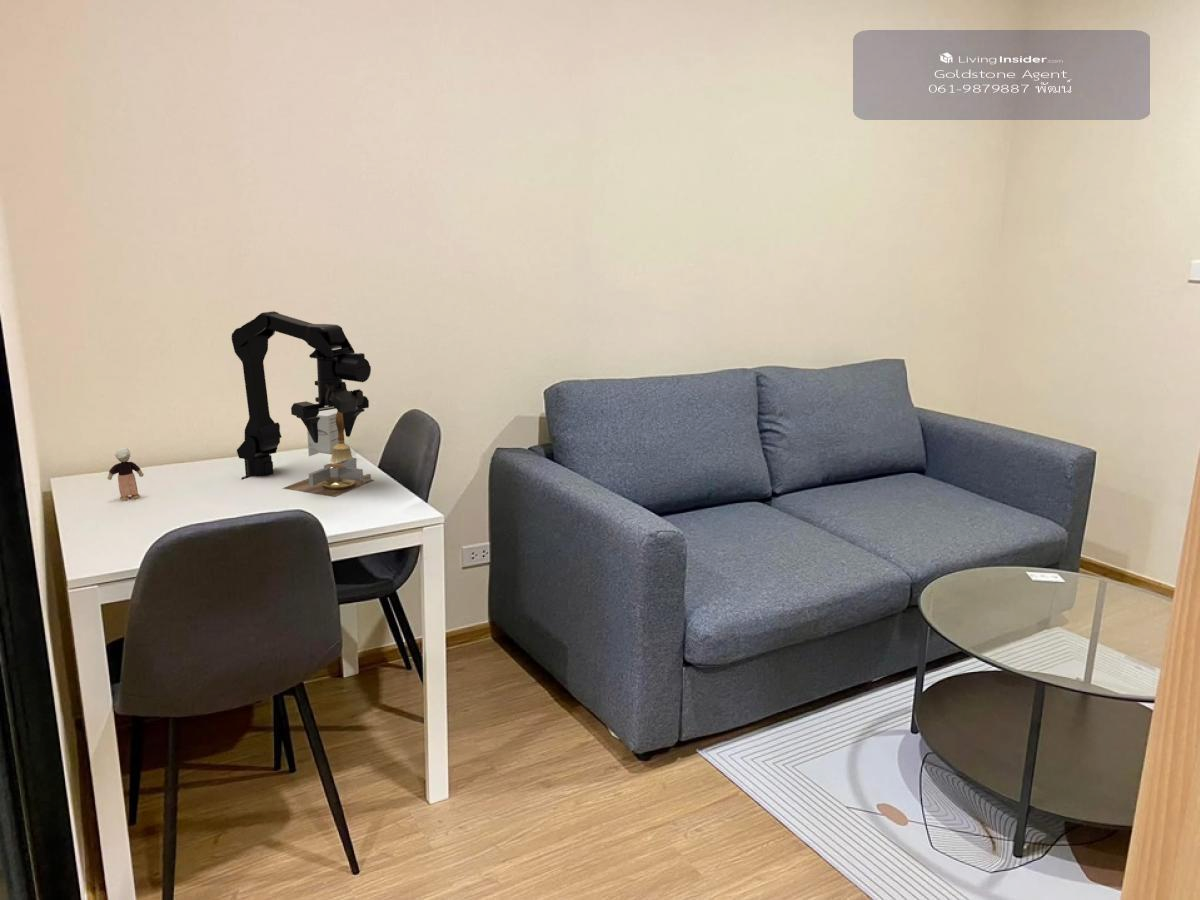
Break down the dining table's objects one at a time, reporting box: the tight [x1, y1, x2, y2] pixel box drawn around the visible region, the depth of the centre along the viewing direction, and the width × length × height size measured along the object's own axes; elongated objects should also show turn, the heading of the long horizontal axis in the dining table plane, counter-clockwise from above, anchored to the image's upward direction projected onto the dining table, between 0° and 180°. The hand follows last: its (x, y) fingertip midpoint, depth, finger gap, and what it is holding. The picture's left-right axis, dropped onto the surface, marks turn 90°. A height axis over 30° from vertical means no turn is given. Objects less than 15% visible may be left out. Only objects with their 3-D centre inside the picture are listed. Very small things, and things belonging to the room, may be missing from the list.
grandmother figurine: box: [107, 447, 144, 501], centre depth 222 cm, size 8×4×13 cm, turn 134°
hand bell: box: [329, 410, 354, 463], centre depth 254 cm, size 8×8×16 cm
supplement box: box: [306, 409, 338, 457], centre depth 265 cm, size 7×7×13 cm
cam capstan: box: [308, 457, 364, 489], centre depth 231 cm, size 11×17×5 cm, turn 157°
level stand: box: [282, 473, 375, 498], centre depth 233 cm, size 16×16×3 cm
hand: (332, 439), depth 229 cm, fingers open, 9 cm apart
